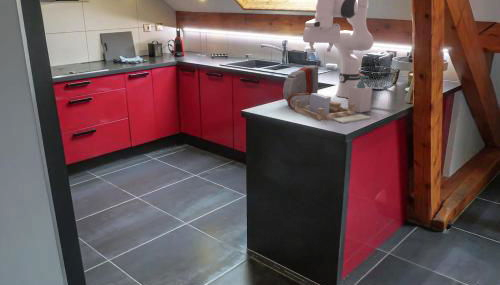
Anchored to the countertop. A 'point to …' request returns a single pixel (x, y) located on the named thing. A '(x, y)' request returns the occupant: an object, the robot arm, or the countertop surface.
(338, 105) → the offcut upper
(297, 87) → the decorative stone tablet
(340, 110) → the offcut lower
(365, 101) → the soap bottle
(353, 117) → the mat
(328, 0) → the robot arm
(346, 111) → the rack
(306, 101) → the tin
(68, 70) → the countertop surface
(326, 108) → the lavender grey box
